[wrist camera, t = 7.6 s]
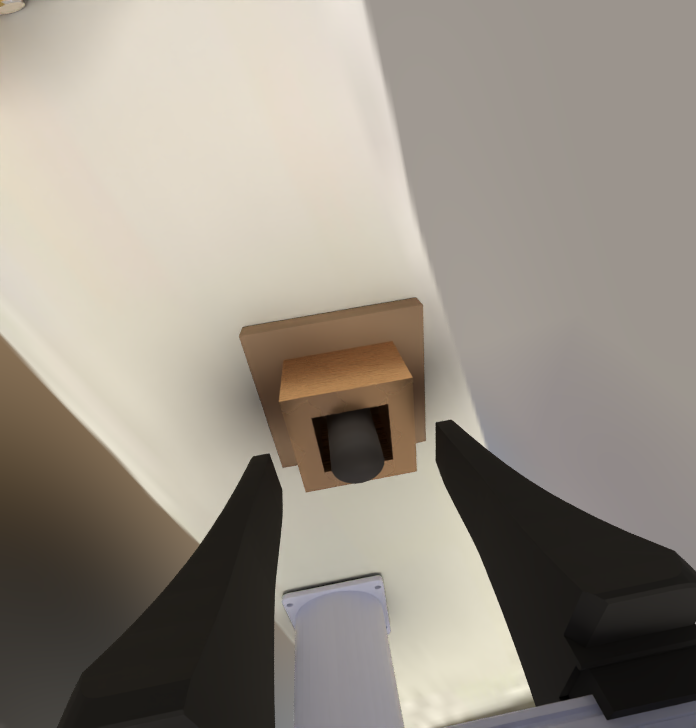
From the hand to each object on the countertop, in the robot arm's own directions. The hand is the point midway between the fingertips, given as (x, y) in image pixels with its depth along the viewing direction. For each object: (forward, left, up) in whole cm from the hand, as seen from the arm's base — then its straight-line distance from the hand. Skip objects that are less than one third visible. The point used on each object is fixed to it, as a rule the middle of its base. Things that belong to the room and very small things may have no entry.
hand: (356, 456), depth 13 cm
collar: (0, 0, -4) cm, 4 cm away
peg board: (0, 0, -5) cm, 5 cm away
